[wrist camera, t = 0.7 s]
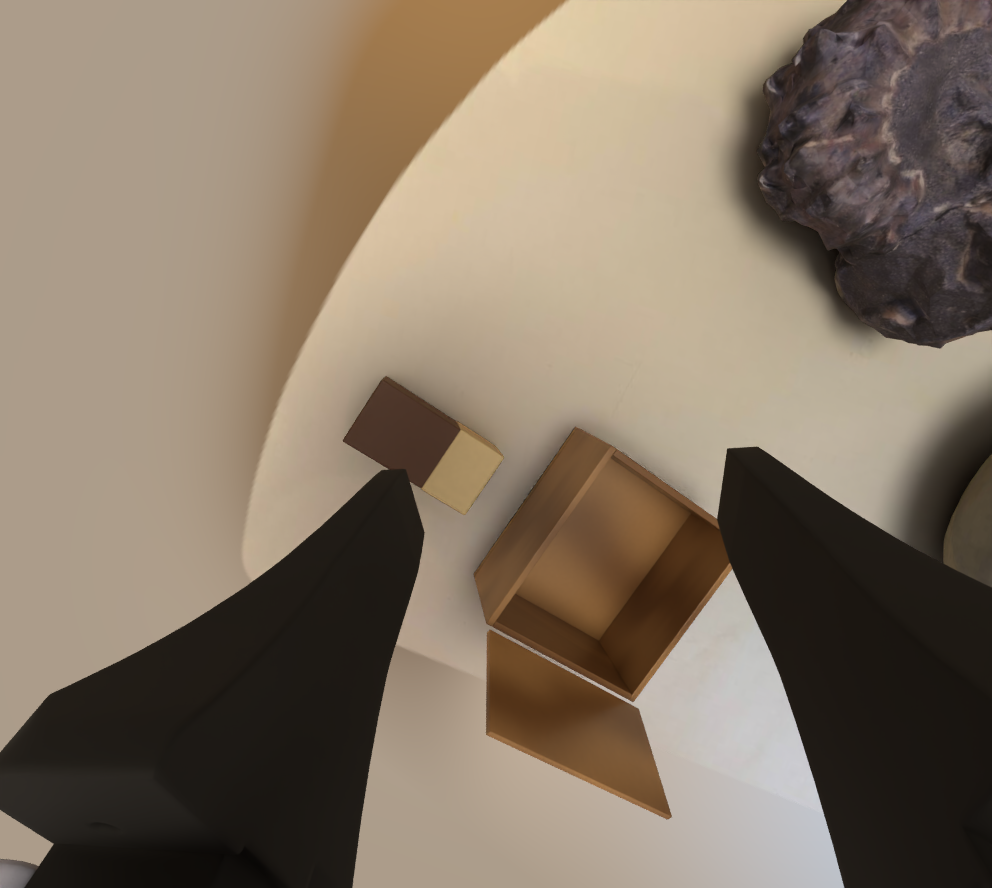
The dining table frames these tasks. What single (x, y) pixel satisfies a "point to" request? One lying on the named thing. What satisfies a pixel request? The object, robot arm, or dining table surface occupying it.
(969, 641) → the robot arm
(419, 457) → the chocolate bar
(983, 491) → the bowl
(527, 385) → the dining table surface
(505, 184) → the dining table surface
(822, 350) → the dining table surface
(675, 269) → the dining table surface
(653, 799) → the flap
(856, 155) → the seashell
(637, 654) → the box
